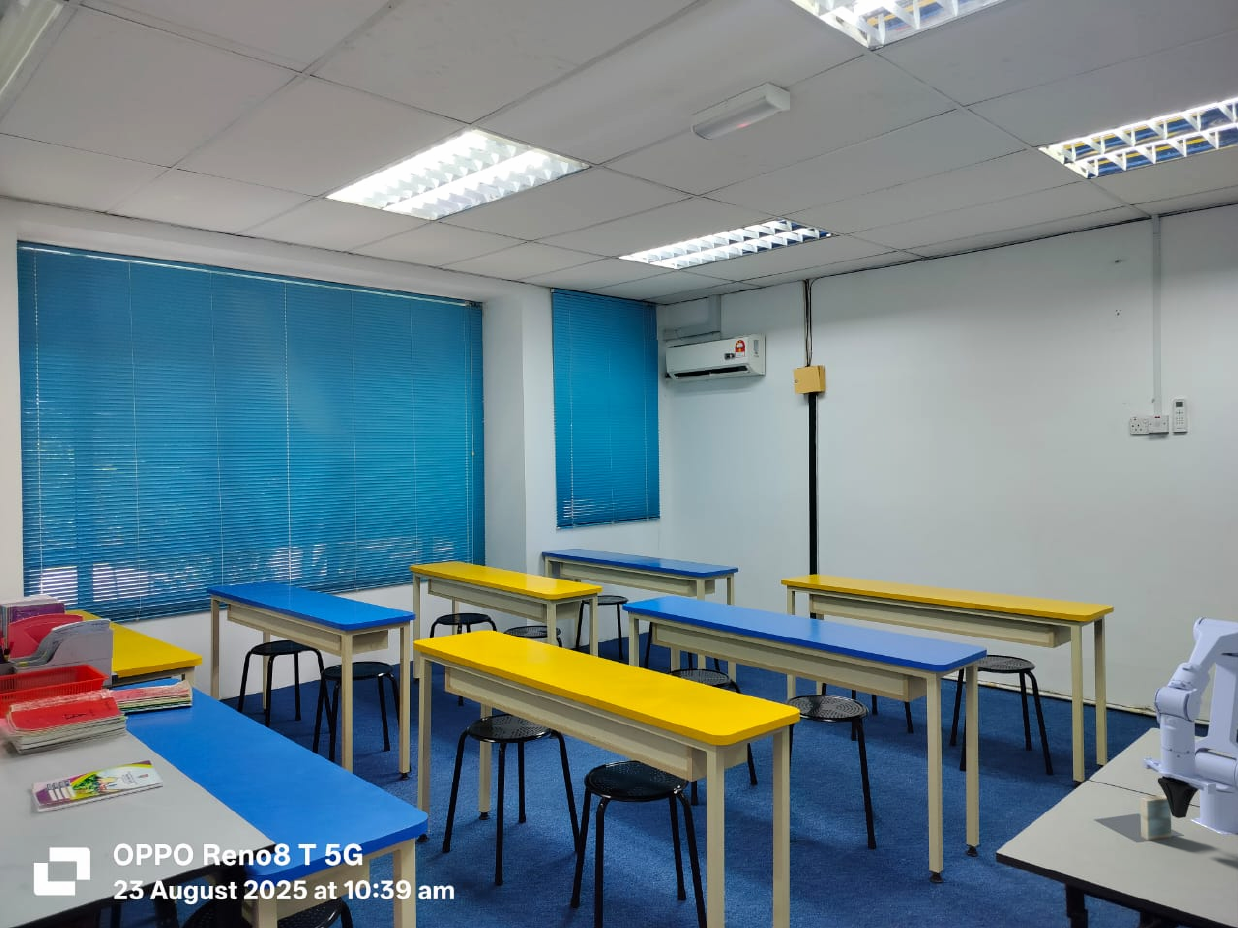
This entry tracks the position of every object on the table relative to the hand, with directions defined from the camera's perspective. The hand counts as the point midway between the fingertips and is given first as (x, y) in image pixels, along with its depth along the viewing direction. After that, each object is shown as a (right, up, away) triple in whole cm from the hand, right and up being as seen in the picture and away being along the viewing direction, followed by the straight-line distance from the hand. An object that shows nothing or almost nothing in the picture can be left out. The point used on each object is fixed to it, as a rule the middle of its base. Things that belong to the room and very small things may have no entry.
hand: (1178, 816), depth 161 cm
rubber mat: (-2, -7, +10) cm, 12 cm away
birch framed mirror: (-1, -7, +5) cm, 8 cm away
